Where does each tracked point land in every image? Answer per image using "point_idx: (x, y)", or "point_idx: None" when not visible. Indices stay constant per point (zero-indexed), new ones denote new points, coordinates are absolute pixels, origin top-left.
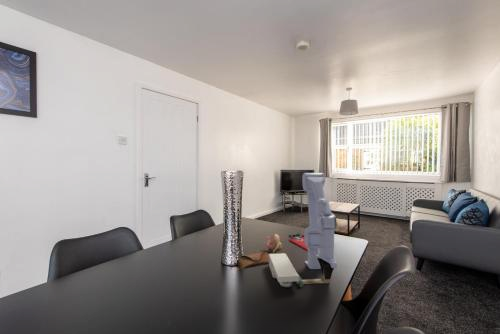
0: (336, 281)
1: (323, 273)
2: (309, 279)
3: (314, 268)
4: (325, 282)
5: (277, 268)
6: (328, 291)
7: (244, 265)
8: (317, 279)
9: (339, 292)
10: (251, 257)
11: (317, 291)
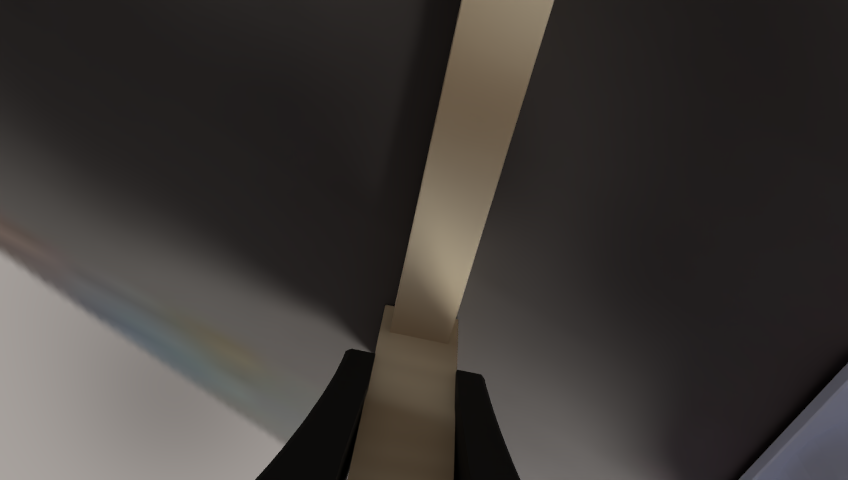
0: None
1: (444, 415)
2: (514, 120)
3: (820, 405)
4: (384, 316)
5: None
6: (169, 224)
7: None
8: (459, 255)
9: (143, 328)
10: None
11: (172, 61)
